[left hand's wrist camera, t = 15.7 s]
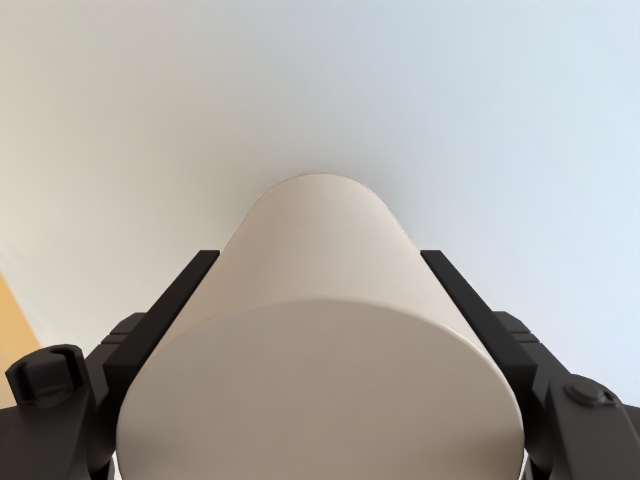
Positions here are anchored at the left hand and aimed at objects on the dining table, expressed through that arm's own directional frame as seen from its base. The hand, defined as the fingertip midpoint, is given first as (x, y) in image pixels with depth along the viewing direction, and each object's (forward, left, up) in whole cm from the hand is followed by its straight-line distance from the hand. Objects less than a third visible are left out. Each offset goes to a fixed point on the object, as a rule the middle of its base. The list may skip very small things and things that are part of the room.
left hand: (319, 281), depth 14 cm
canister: (0, 0, -3) cm, 3 cm away
